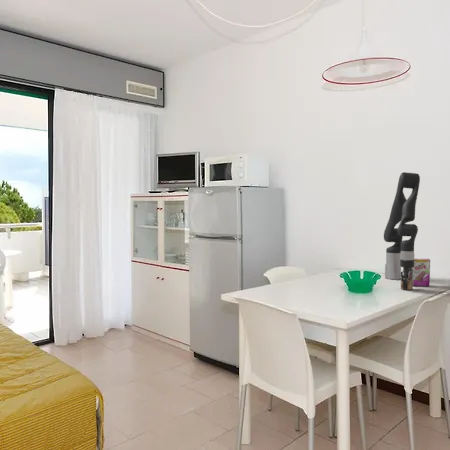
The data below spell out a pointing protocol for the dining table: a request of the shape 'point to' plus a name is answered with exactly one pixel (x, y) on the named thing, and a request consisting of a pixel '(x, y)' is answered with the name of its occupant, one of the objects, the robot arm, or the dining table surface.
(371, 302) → the dining table surface
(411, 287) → the walnut cube
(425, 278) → the candy bar box
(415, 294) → the dining table surface
